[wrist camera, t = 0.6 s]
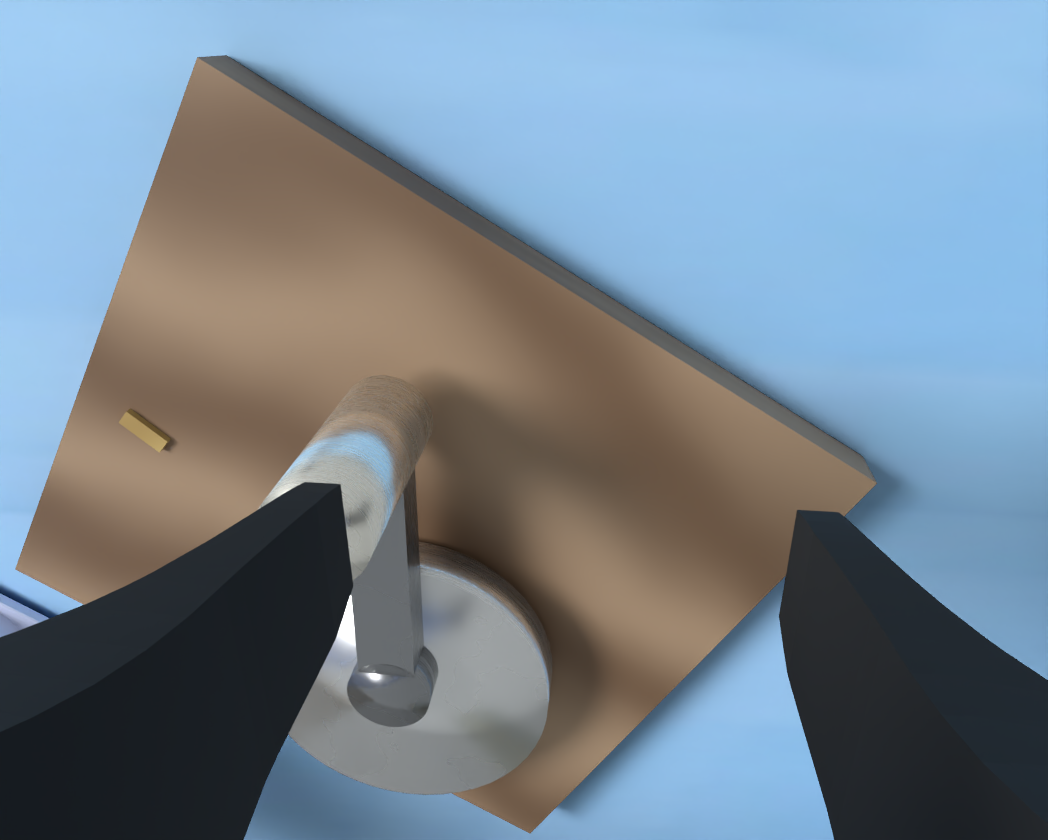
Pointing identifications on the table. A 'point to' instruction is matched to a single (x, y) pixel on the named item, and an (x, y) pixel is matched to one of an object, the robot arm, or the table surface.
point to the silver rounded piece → (414, 622)
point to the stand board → (456, 404)
